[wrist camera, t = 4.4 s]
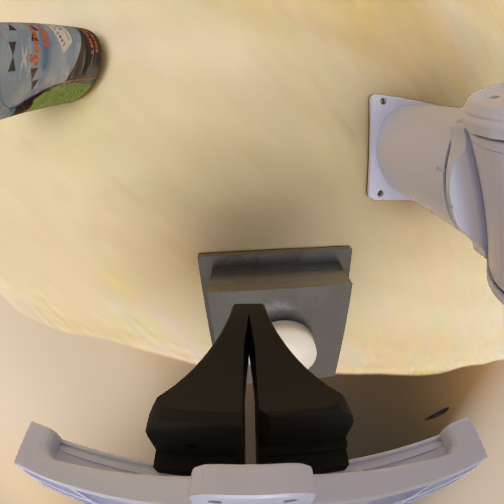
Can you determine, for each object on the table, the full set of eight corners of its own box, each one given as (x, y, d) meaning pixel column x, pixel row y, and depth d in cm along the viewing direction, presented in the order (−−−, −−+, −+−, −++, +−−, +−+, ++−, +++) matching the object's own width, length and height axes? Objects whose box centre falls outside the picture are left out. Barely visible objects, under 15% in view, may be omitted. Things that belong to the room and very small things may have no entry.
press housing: (349, 245, 22) (367, 270, 19) (333, 351, 28) (343, 381, 24) (198, 253, 23) (190, 280, 19) (216, 359, 28) (213, 390, 24)
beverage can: (125, 56, 16) (15, 19, 5) (66, 131, 18) (-51, 163, 7) (80, 19, 13) (-23, -16, 3) (29, 90, 16) (-80, 103, 5)
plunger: (307, 290, 23) (319, 330, 19) (304, 335, 26) (313, 376, 21) (246, 293, 23) (246, 335, 19) (249, 338, 26) (250, 380, 21)
